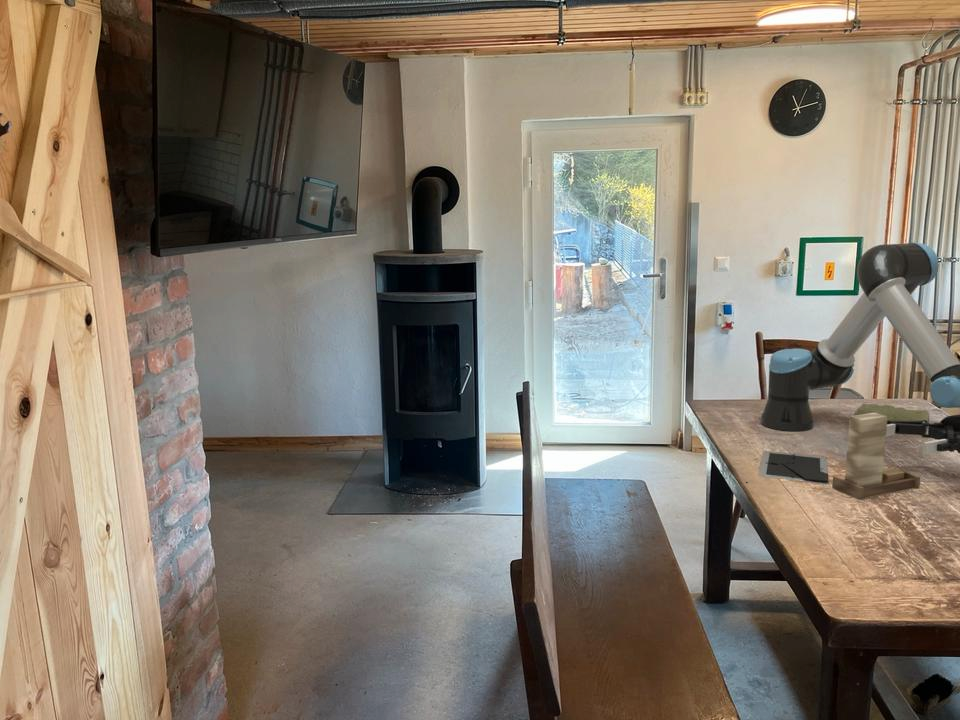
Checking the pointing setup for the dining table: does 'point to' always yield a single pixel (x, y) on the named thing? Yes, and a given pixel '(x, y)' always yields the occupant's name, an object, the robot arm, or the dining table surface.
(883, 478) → the oak offcut
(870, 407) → the decorative tile
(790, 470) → the picture frame
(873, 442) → the tall grained pillar
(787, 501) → the dining table surface
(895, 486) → the tray
